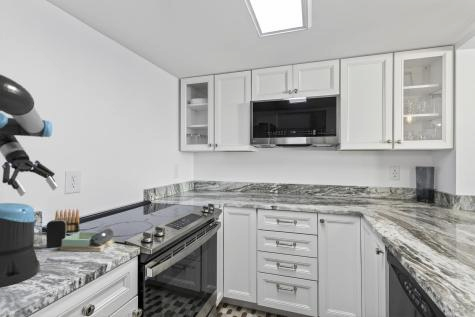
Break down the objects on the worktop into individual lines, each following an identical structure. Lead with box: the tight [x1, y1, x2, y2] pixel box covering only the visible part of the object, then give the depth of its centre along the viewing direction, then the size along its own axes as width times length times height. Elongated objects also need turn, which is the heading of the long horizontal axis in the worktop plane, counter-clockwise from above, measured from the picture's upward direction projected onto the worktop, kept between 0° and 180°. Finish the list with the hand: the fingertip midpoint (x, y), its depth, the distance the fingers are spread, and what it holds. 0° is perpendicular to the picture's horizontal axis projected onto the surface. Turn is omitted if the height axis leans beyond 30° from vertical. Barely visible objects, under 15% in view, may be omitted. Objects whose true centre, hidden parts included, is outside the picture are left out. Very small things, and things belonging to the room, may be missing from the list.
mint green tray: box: [59, 228, 116, 253], centre depth 106 cm, size 12×17×6 cm
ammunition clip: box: [54, 208, 80, 234], centre depth 124 cm, size 11×2×12 cm, turn 113°
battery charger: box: [45, 219, 67, 249], centre depth 105 cm, size 7×4×11 cm, turn 114°
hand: (40, 191), depth 106 cm, fingers open, 13 cm apart
